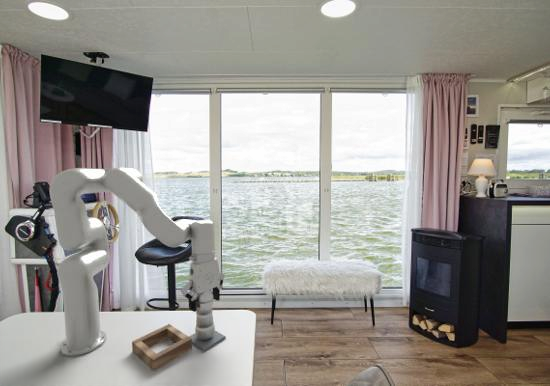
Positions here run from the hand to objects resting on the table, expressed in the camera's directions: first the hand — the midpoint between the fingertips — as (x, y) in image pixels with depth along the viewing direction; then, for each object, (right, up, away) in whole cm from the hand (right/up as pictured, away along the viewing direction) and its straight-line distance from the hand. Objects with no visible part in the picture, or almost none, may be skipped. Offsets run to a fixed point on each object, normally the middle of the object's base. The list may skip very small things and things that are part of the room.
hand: (205, 304), depth 93 cm
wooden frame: (-13, -13, -5) cm, 19 cm away
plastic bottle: (0, -12, +1) cm, 12 cm away
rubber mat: (0, -13, +1) cm, 12 cm away
